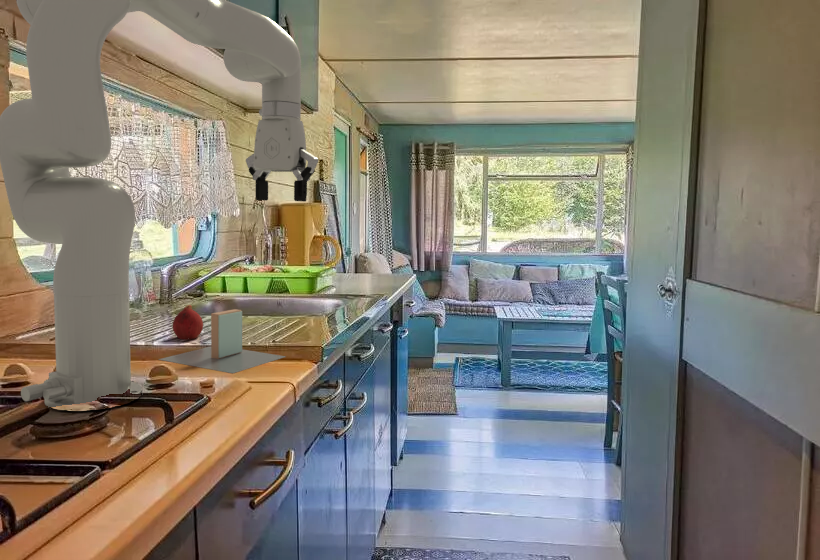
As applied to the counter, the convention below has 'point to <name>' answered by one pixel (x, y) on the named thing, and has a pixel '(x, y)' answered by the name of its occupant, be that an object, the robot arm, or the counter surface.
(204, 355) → the slate board
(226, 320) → the tile
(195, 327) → the onion
